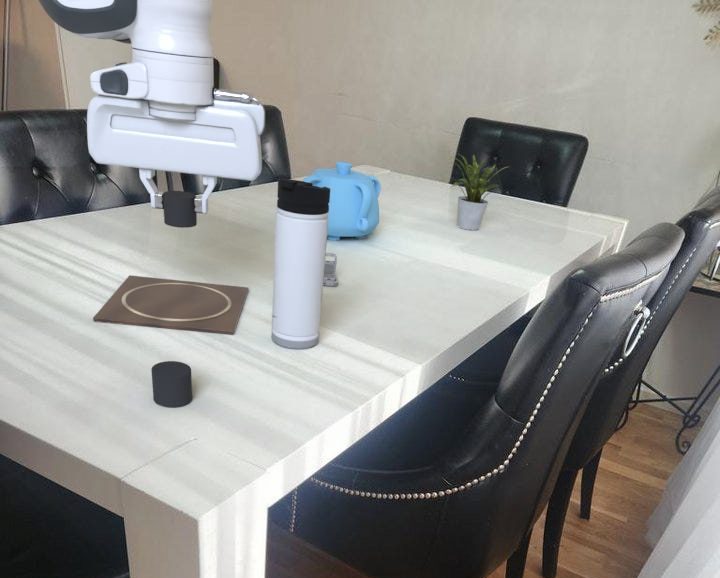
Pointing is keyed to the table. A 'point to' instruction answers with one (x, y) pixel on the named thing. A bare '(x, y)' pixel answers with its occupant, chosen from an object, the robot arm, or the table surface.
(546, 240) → the table surface
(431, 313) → the table surface
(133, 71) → the robot arm
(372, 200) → the decorative pot
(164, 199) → the eye puck
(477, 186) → the house plant
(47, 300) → the table surface
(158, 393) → the eye puck
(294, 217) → the travel mug
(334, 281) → the strap clip
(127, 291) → the board
